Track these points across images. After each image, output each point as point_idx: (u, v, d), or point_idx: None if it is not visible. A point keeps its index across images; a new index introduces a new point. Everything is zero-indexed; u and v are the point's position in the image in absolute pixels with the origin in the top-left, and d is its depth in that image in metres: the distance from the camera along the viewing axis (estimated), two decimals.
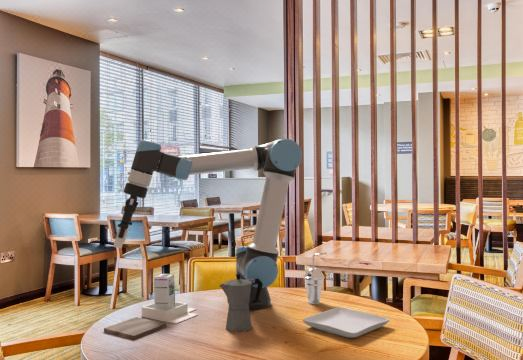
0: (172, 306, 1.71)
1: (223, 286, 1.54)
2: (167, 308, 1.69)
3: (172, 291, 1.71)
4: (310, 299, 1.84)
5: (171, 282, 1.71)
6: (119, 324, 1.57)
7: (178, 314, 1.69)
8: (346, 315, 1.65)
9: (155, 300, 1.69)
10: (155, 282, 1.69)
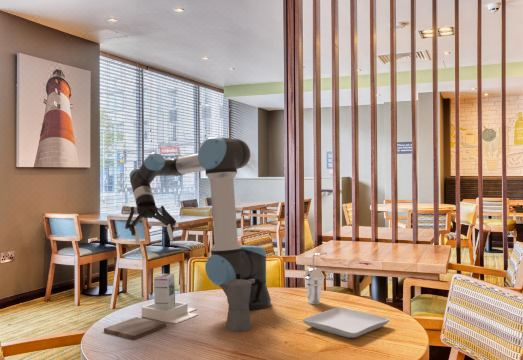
0: (172, 306, 1.71)
1: (223, 286, 1.54)
2: (167, 308, 1.69)
3: (172, 291, 1.71)
4: (310, 299, 1.84)
5: (171, 282, 1.71)
6: (119, 324, 1.57)
7: (178, 314, 1.69)
8: (346, 315, 1.65)
9: (155, 300, 1.69)
10: (155, 282, 1.69)
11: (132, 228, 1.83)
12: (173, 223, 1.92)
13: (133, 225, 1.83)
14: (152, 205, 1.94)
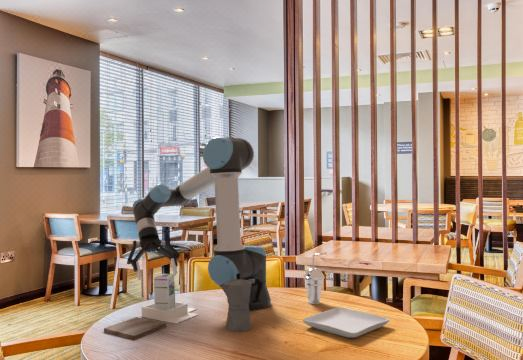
0: (172, 306, 1.71)
1: (223, 286, 1.54)
2: (167, 308, 1.69)
3: (172, 291, 1.71)
4: (310, 299, 1.84)
5: (171, 282, 1.71)
6: (119, 324, 1.57)
7: (178, 314, 1.69)
8: (346, 315, 1.65)
9: (155, 300, 1.69)
10: (155, 282, 1.69)
11: (134, 264, 1.76)
12: (177, 257, 1.85)
13: (135, 261, 1.77)
14: (155, 238, 1.87)
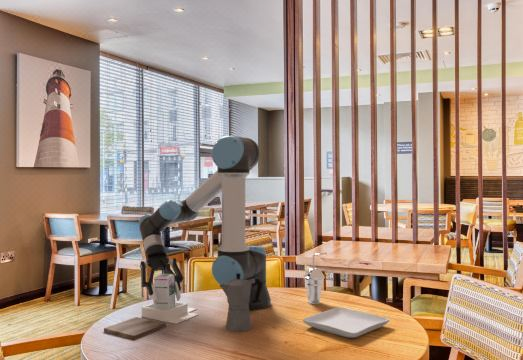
0: (172, 306, 1.71)
1: (223, 286, 1.54)
2: (167, 308, 1.69)
3: (172, 291, 1.71)
4: (310, 299, 1.84)
5: (171, 282, 1.71)
6: (119, 324, 1.57)
7: (178, 314, 1.69)
8: (346, 315, 1.65)
9: None
10: (155, 282, 1.69)
11: (149, 287, 1.69)
12: (180, 280, 1.76)
13: None
14: (164, 255, 1.81)
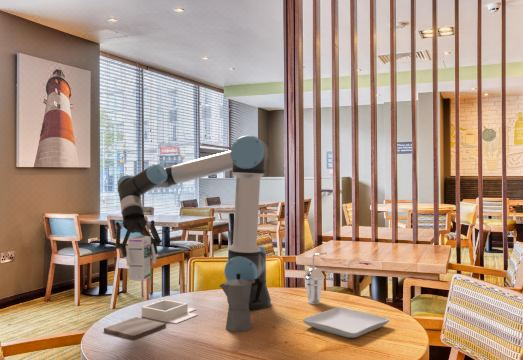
0: (148, 269, 1.61)
1: (223, 286, 1.54)
2: (142, 271, 1.58)
3: (148, 253, 1.61)
4: (310, 299, 1.84)
5: (147, 243, 1.60)
6: (119, 324, 1.57)
7: (178, 314, 1.69)
8: (346, 315, 1.65)
9: None
10: (129, 243, 1.59)
11: (123, 248, 1.59)
12: (157, 243, 1.65)
13: (125, 244, 1.59)
14: (141, 217, 1.70)
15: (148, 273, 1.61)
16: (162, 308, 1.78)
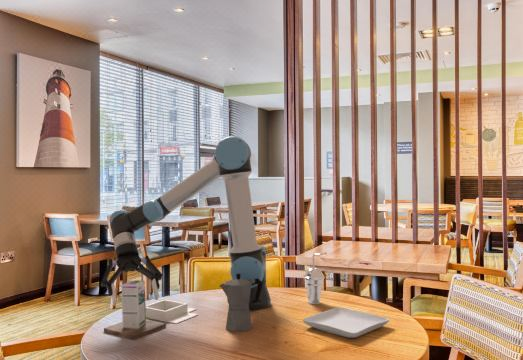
0: (142, 316, 1.55)
1: (223, 286, 1.54)
2: (136, 318, 1.53)
3: (142, 299, 1.55)
4: (310, 299, 1.84)
5: (141, 289, 1.55)
6: (119, 324, 1.57)
7: (178, 314, 1.69)
8: (346, 315, 1.65)
9: (123, 310, 1.53)
10: (123, 290, 1.53)
11: (109, 286, 1.53)
12: (159, 277, 1.62)
13: (110, 283, 1.54)
14: (135, 255, 1.64)
15: (143, 319, 1.56)
16: (162, 308, 1.78)
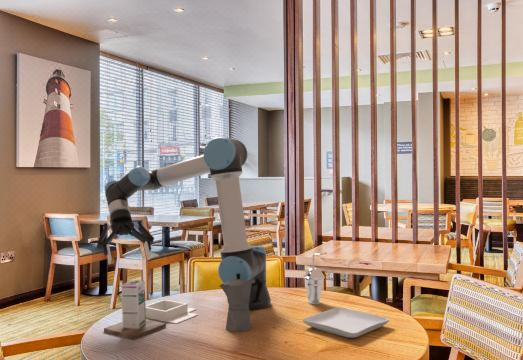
0: (142, 316, 1.55)
1: (223, 286, 1.54)
2: (136, 318, 1.53)
3: (142, 299, 1.55)
4: (310, 299, 1.84)
5: (141, 289, 1.55)
6: (119, 324, 1.57)
7: (178, 314, 1.69)
8: (346, 315, 1.65)
9: (123, 310, 1.53)
10: (123, 290, 1.53)
11: (104, 247, 1.66)
12: (151, 240, 1.75)
13: (105, 244, 1.67)
14: (128, 221, 1.78)
15: (143, 319, 1.56)
16: (162, 308, 1.78)
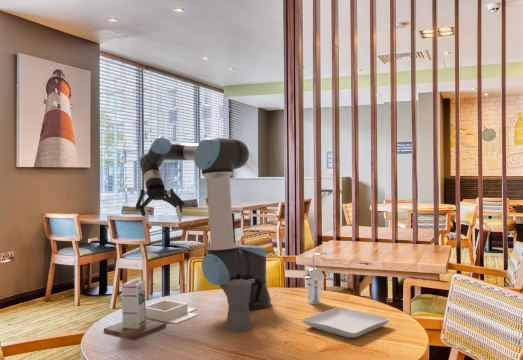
0: (142, 316, 1.55)
1: (223, 286, 1.54)
2: (136, 318, 1.53)
3: (142, 299, 1.55)
4: (310, 299, 1.84)
5: (141, 289, 1.55)
6: (119, 324, 1.57)
7: (178, 314, 1.69)
8: (346, 315, 1.65)
9: (123, 310, 1.53)
10: (123, 290, 1.53)
11: (142, 209, 1.89)
12: (182, 205, 1.98)
13: (143, 206, 1.90)
14: (161, 188, 2.01)
15: (143, 319, 1.56)
16: (162, 308, 1.78)
